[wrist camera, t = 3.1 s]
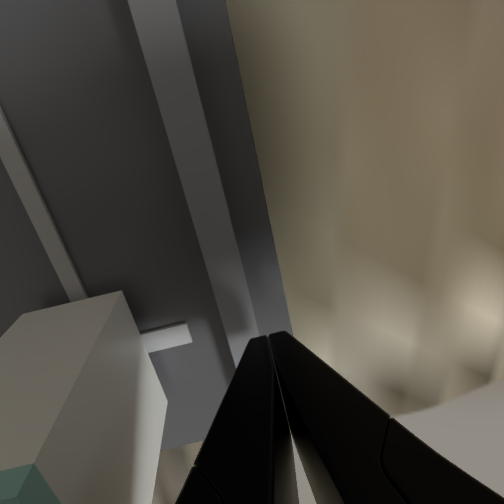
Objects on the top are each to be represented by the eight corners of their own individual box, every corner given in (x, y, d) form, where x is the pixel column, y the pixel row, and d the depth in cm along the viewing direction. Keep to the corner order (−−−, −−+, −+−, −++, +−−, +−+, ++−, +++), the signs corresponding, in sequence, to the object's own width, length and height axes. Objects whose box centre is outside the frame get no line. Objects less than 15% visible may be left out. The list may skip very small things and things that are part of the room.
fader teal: (121, 290, 8) (17, 496, 4) (167, 401, 10) (128, 646, 5) (22, 313, 8) (-198, 548, 4) (82, 422, 10) (-28, 685, 5)
